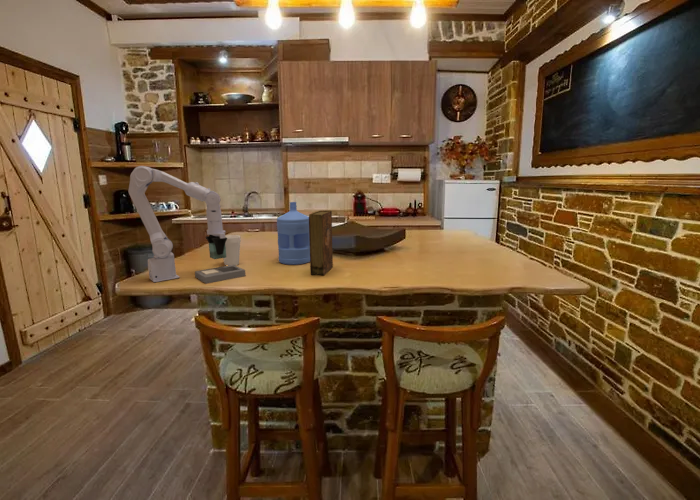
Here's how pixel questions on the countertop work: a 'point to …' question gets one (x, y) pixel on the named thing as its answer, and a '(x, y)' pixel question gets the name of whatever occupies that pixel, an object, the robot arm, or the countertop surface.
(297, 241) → the water jug
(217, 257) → the block
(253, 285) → the countertop surface
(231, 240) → the foam cup
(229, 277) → the frame
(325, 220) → the book
